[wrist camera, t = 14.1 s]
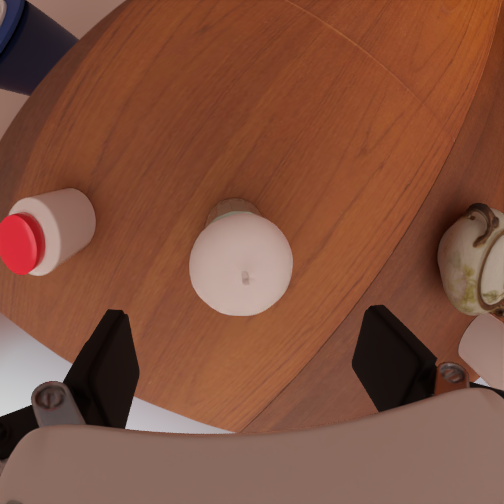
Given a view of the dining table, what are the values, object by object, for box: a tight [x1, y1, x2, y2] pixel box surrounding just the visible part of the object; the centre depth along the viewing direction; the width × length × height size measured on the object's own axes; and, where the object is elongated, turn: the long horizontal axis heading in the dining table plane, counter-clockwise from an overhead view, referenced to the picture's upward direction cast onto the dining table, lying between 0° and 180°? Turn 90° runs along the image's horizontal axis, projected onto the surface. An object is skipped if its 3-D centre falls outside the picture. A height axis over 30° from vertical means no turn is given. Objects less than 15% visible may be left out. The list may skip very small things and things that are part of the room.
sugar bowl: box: [437, 203, 504, 317], centre depth 28 cm, size 20×15×15 cm
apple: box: [189, 213, 293, 316], centre depth 19 cm, size 7×7×8 cm
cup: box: [203, 198, 266, 230], centre depth 27 cm, size 6×6×9 cm
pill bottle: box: [0, 188, 96, 276], centre depth 24 cm, size 8×8×11 cm
